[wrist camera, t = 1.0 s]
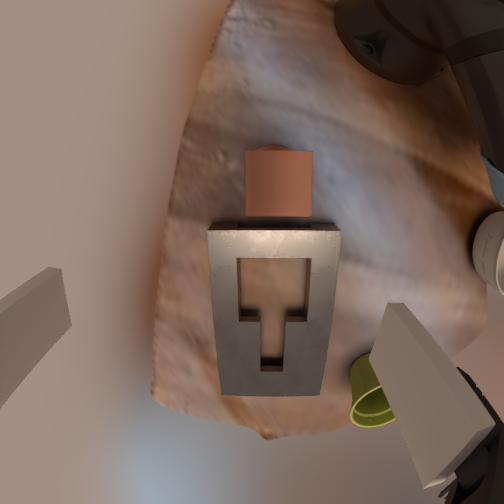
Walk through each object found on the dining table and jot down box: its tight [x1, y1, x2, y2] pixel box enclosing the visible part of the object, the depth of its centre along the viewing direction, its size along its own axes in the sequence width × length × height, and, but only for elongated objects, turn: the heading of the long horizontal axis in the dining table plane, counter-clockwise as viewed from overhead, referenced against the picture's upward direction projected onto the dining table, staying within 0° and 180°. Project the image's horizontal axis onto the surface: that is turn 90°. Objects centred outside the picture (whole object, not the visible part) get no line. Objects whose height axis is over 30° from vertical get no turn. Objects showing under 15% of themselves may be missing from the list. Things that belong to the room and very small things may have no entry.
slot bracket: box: [207, 223, 341, 396], centre depth 36 cm, size 14×24×3 cm, turn 1°
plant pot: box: [350, 353, 395, 427], centre depth 36 cm, size 9×9×9 cm
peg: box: [245, 145, 312, 217], centre depth 24 cm, size 6×6×15 cm
